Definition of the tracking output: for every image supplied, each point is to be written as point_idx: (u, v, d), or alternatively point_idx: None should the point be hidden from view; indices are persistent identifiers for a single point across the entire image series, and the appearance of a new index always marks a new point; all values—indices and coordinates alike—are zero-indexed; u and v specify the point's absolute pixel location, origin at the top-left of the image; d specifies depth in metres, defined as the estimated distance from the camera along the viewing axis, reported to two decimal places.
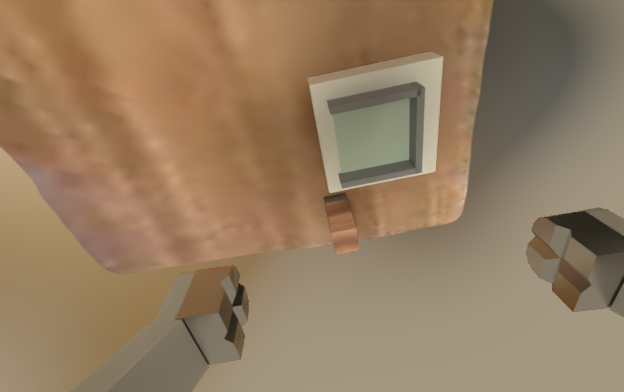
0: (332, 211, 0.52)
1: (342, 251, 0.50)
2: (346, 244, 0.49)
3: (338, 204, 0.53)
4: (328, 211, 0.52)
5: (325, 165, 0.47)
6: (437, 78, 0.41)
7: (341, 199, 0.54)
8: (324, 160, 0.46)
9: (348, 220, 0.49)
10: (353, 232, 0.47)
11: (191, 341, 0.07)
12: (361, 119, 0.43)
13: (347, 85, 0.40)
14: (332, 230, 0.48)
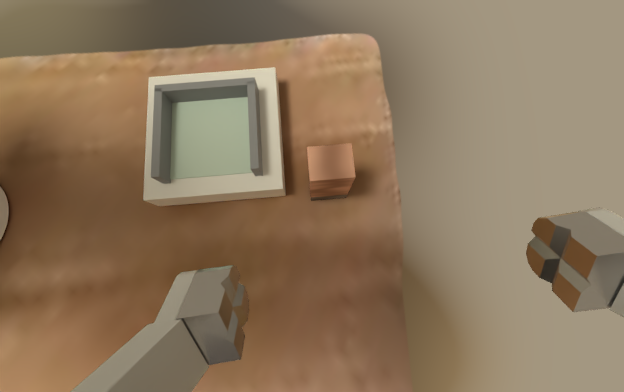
0: None
1: (350, 166, 0.33)
2: (336, 160, 0.33)
3: None
4: (310, 191, 0.38)
5: (240, 190, 0.38)
6: (168, 79, 0.42)
7: None
8: (233, 191, 0.38)
9: None
10: (313, 151, 0.33)
11: (191, 341, 0.07)
12: (190, 148, 0.39)
13: None
14: (309, 180, 0.33)
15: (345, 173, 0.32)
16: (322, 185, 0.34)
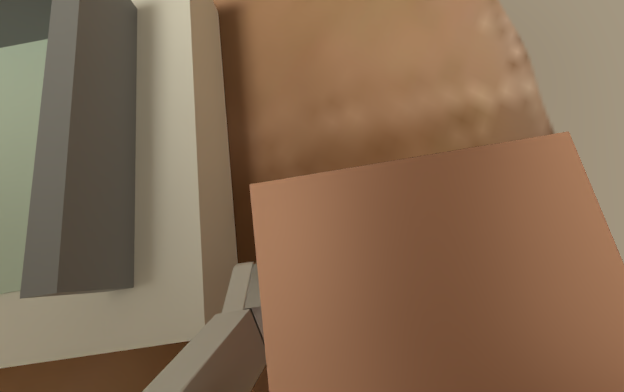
0: None
1: (619, 324, 0.04)
2: (479, 278, 0.04)
3: None
4: None
5: (48, 354, 0.10)
6: None
7: None
8: (25, 359, 0.10)
9: None
10: (298, 211, 0.05)
11: (257, 331, 0.07)
12: None
13: None
14: None
15: None
16: None
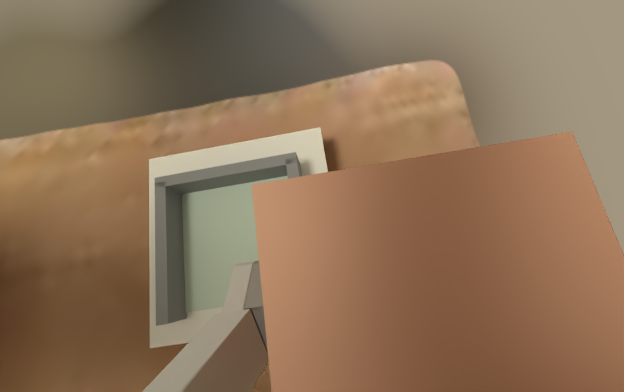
0: None
1: (622, 325, 0.04)
2: (482, 279, 0.04)
3: None
4: None
5: None
6: (174, 160, 0.30)
7: None
8: None
9: None
10: (300, 211, 0.05)
11: (257, 331, 0.07)
12: (211, 262, 0.27)
13: None
14: None
15: None
16: None
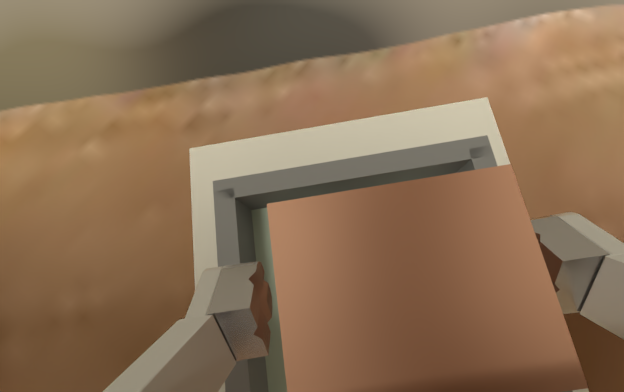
0: None
1: (540, 309, 0.05)
2: (439, 276, 0.06)
3: None
4: None
5: None
6: (234, 150, 0.18)
7: None
8: None
9: None
10: (304, 225, 0.06)
11: (221, 337, 0.07)
12: None
13: None
14: None
15: (514, 362, 0.05)
16: None
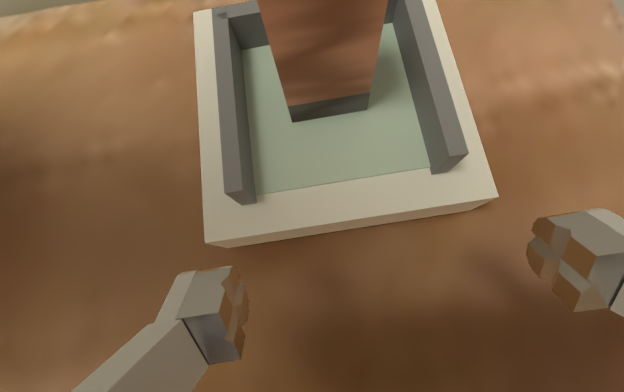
0: None
1: None
2: None
3: None
4: (279, 76, 0.15)
5: (406, 207, 0.18)
6: None
7: None
8: (392, 210, 0.18)
9: None
10: None
11: (191, 341, 0.07)
12: (288, 130, 0.20)
13: (216, 164, 0.20)
14: None
15: None
16: (300, 24, 0.12)
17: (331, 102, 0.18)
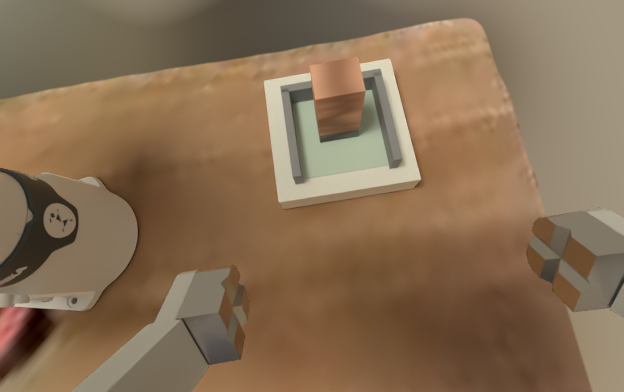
0: None
1: (359, 80, 0.29)
2: (342, 76, 0.29)
3: None
4: (317, 124, 0.34)
5: (376, 184, 0.37)
6: (283, 81, 0.42)
7: None
8: (370, 186, 0.37)
9: None
10: (317, 68, 0.30)
11: (191, 341, 0.07)
12: (318, 147, 0.39)
13: (282, 164, 0.39)
14: (315, 100, 0.30)
15: (354, 88, 0.29)
16: (330, 109, 0.31)
17: (340, 133, 0.37)
